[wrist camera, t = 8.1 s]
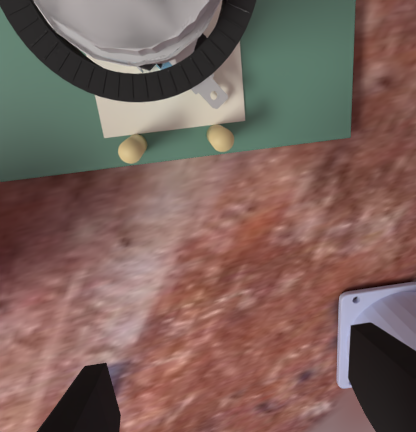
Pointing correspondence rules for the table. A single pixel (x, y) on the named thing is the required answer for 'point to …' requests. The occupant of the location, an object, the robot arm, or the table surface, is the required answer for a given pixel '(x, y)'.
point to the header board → (186, 99)
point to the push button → (132, 43)
